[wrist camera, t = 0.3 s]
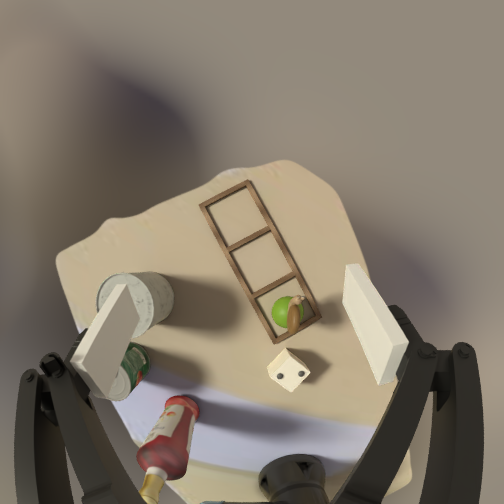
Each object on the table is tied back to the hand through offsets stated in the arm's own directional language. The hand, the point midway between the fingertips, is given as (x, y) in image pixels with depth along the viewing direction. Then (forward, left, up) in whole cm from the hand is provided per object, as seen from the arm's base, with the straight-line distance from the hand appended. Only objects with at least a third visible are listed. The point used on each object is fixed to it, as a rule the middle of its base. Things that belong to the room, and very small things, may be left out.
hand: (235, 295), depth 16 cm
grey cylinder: (+4, +16, -33) cm, 37 cm away
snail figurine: (-9, -5, -33) cm, 35 cm away
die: (-19, 0, -33) cm, 38 cm away
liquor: (-18, +22, -33) cm, 44 cm away
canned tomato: (-5, +26, -33) cm, 43 cm away
